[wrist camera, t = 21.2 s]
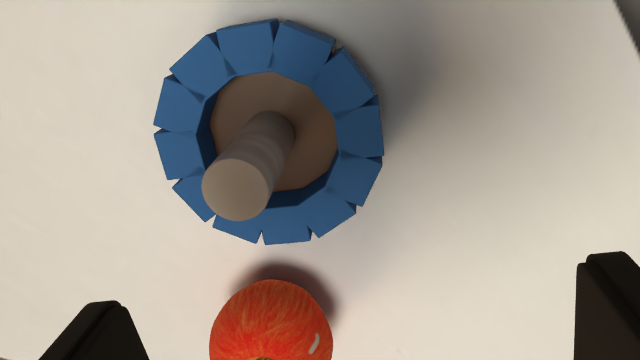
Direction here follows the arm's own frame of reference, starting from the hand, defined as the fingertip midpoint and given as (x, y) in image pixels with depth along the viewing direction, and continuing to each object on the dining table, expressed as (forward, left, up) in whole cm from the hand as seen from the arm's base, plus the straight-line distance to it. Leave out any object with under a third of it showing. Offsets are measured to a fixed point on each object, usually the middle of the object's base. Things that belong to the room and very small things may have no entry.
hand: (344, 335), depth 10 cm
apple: (+8, +15, -20) cm, 26 cm away
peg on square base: (+5, +1, -20) cm, 20 cm away
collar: (+5, 0, -18) cm, 19 cm away
